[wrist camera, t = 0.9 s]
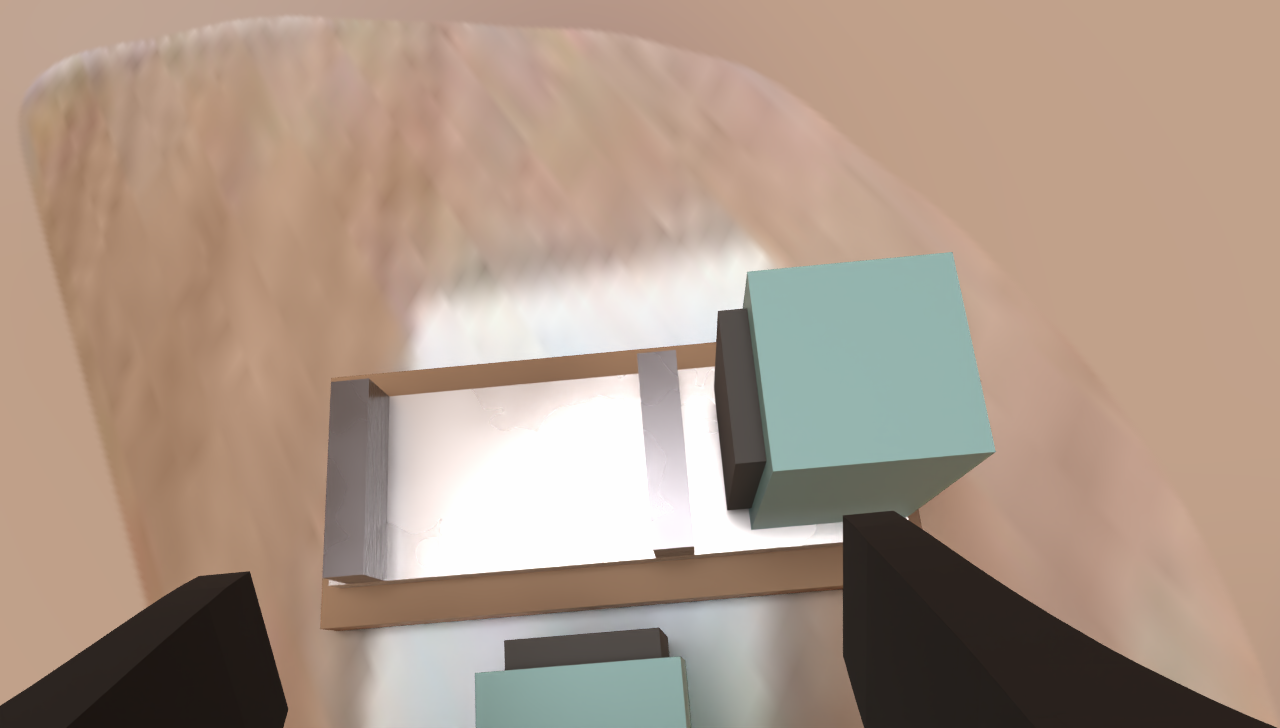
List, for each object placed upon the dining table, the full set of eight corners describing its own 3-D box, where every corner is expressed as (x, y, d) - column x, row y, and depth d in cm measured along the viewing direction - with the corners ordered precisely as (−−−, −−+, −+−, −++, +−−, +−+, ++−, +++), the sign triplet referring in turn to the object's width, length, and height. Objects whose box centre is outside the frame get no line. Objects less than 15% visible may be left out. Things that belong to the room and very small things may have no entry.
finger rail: (919, 582, 24) (1042, 533, 15) (337, 631, 24) (144, 609, 16) (877, 341, 26) (962, 182, 18) (347, 390, 27) (182, 259, 18)
